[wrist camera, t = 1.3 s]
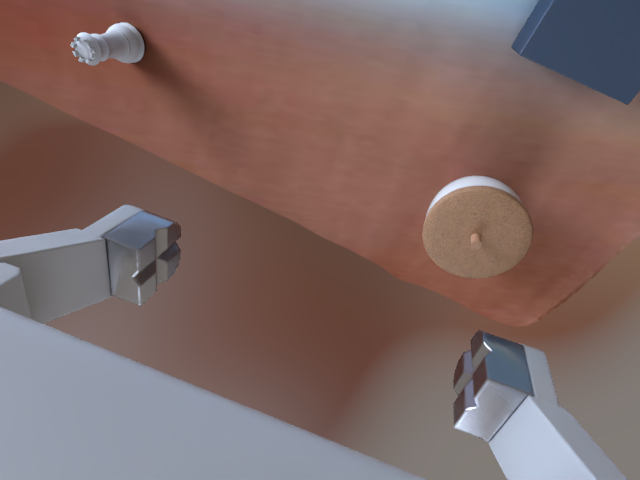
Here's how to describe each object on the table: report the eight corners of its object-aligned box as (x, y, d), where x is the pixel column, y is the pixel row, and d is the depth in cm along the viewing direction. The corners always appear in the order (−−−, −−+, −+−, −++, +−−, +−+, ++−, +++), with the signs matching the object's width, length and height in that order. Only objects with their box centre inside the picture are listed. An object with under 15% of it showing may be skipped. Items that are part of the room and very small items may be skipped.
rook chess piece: (140, 70, 51) (93, 81, 44) (110, 46, 50) (59, 54, 44) (151, 38, 48) (104, 45, 42) (120, 13, 48) (67, 16, 41)
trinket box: (531, 164, 44) (548, 200, 36) (511, 247, 49) (523, 294, 42) (430, 159, 47) (426, 192, 39) (422, 238, 52) (417, 281, 44)
